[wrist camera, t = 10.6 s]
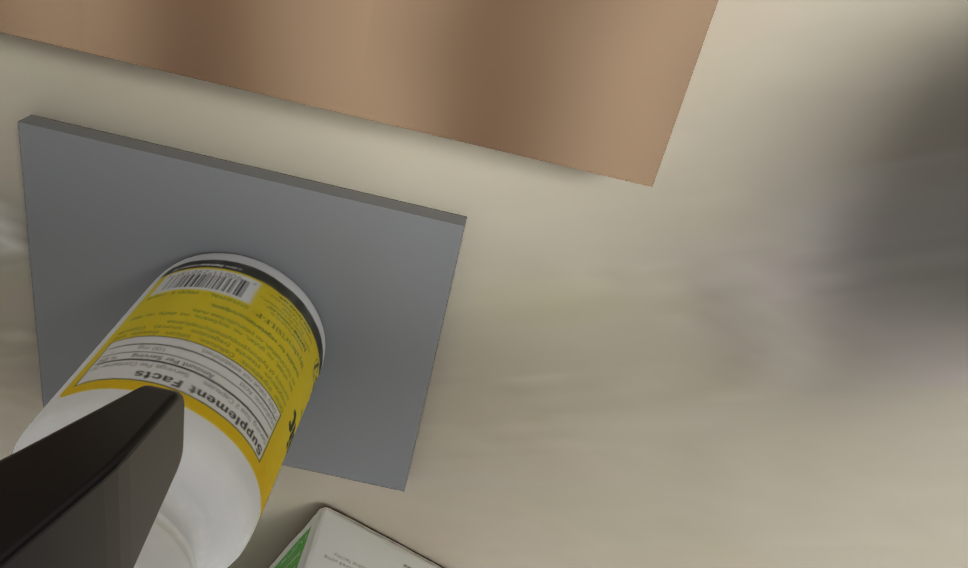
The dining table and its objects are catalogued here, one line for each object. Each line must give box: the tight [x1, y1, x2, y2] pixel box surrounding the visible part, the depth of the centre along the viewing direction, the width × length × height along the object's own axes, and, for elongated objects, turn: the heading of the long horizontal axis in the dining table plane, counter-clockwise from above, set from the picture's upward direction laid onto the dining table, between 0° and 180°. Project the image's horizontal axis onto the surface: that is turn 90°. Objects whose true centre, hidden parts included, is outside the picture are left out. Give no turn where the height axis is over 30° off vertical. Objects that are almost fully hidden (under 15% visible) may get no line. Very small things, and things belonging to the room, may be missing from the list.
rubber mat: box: [18, 115, 467, 491], centre depth 24 cm, size 12×10×1 cm
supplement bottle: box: [12, 253, 325, 568], centre depth 19 cm, size 5×5×10 cm
